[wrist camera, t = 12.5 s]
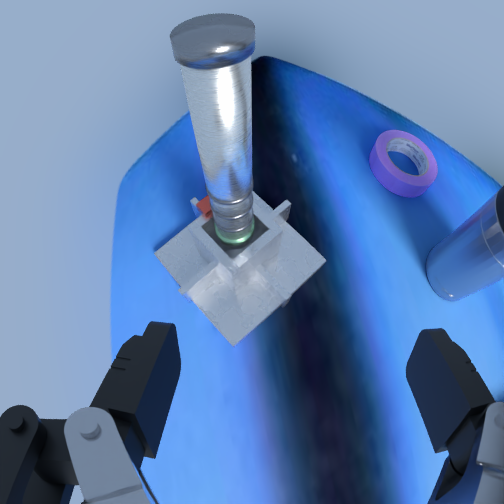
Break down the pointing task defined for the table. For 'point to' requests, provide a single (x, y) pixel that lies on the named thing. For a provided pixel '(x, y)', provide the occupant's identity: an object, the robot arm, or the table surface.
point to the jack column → (221, 115)
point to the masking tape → (392, 174)
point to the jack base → (240, 267)
